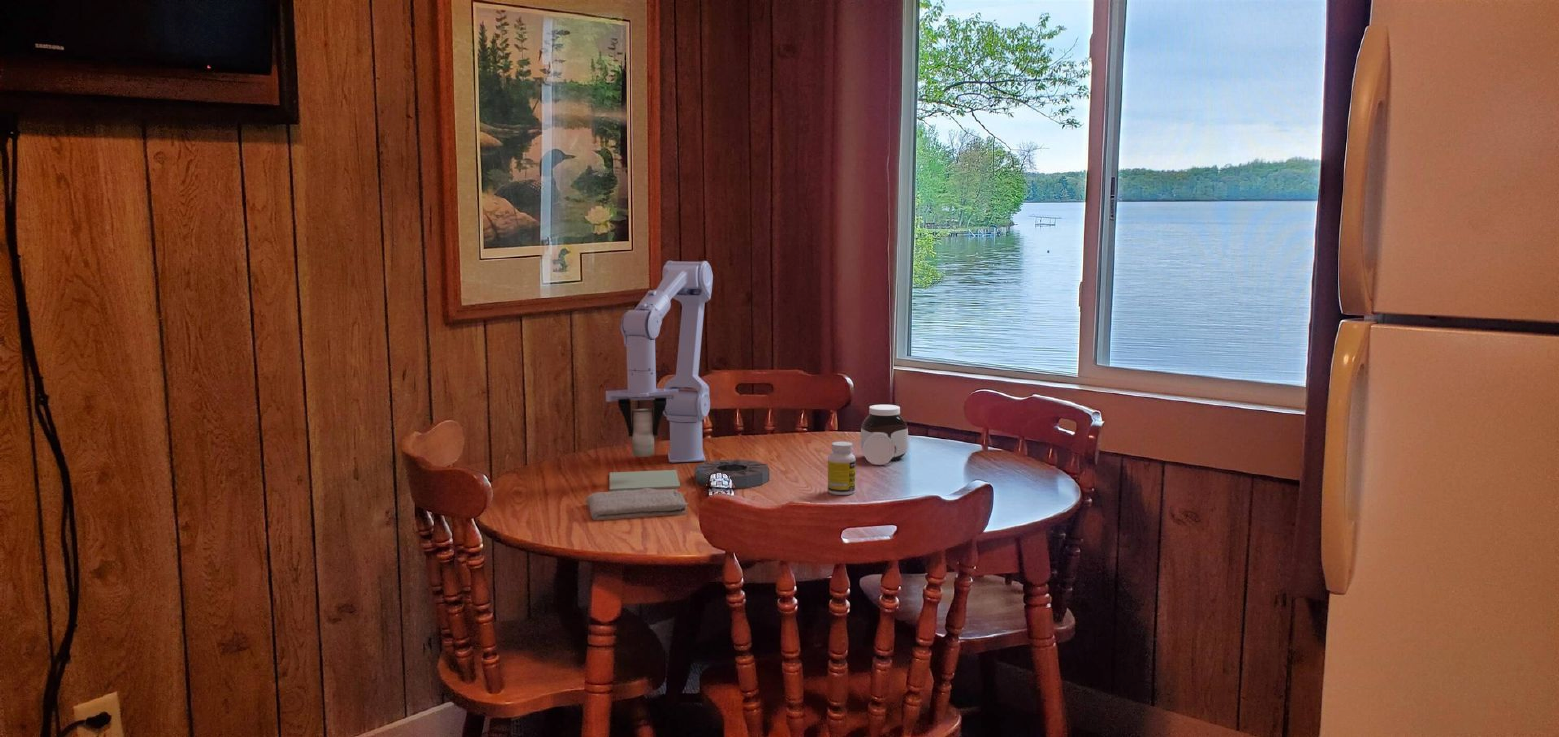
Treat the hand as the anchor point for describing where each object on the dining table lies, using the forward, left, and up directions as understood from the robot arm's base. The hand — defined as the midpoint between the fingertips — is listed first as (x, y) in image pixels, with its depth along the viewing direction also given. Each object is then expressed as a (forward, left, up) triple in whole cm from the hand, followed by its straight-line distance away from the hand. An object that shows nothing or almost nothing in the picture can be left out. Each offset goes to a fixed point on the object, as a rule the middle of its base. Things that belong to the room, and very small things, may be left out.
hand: (643, 435), depth 222 cm
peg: (0, 0, -4) cm, 4 cm away
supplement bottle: (+16, +38, -10) cm, 42 cm away
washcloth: (+22, -2, -10) cm, 24 cm away
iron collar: (+2, +18, -10) cm, 20 cm away
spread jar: (-10, +53, -10) cm, 55 cm away
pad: (0, 0, -10) cm, 10 cm away
